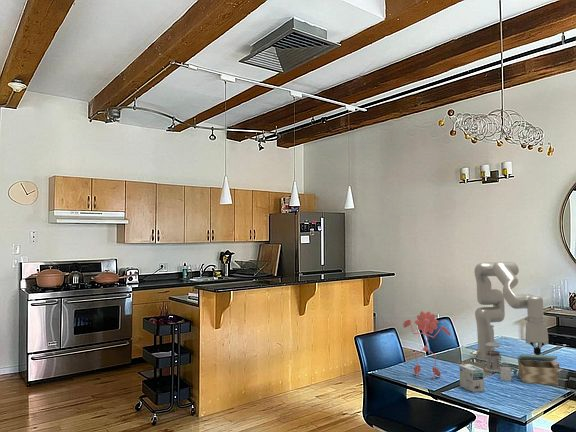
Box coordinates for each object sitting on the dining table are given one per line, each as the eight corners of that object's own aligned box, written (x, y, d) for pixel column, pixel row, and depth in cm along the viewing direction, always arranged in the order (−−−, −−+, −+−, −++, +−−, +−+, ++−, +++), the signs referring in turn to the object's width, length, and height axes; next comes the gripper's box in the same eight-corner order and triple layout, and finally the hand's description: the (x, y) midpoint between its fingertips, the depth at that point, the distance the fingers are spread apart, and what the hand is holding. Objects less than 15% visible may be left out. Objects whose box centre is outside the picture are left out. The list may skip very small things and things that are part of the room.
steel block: (501, 380, 239) (500, 369, 239) (499, 377, 244) (499, 366, 244) (511, 381, 237) (511, 369, 238) (510, 378, 242) (509, 367, 242)
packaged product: (544, 358, 264) (563, 362, 256) (545, 367, 264) (563, 371, 256) (529, 364, 253) (548, 368, 245) (529, 372, 253) (548, 377, 245)
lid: (521, 356, 237) (521, 354, 237) (517, 359, 249) (517, 357, 250) (557, 358, 232) (557, 356, 232) (551, 361, 244) (551, 359, 245)
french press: (505, 368, 260) (504, 324, 261) (498, 373, 251) (496, 327, 253) (487, 365, 266) (486, 322, 268) (480, 370, 258) (479, 325, 259)
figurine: (450, 382, 236) (448, 314, 239) (401, 375, 250) (399, 311, 252) (455, 375, 249) (454, 310, 252) (409, 369, 263) (407, 307, 265)
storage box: (523, 382, 235) (522, 366, 236) (518, 374, 249) (518, 359, 249) (558, 385, 230) (557, 369, 231) (551, 377, 244) (550, 361, 244)
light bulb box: (485, 391, 223) (484, 368, 223) (473, 392, 221) (472, 370, 221) (470, 384, 233) (469, 363, 234) (459, 386, 231) (458, 364, 232)
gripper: (521, 320, 239) (523, 356, 237) (553, 321, 234) (555, 358, 233) (518, 318, 246) (520, 352, 245) (550, 319, 241) (551, 354, 240)
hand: (537, 355), depth 239 cm, fingers closed
